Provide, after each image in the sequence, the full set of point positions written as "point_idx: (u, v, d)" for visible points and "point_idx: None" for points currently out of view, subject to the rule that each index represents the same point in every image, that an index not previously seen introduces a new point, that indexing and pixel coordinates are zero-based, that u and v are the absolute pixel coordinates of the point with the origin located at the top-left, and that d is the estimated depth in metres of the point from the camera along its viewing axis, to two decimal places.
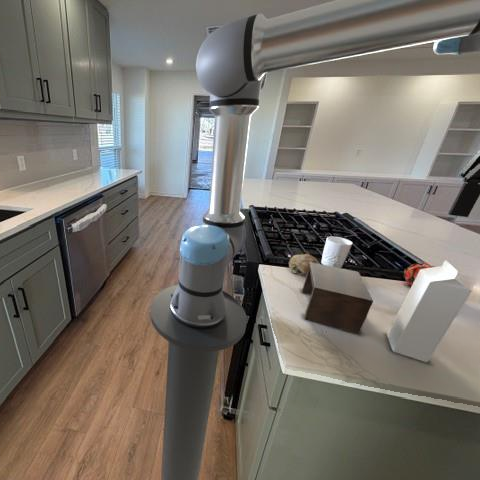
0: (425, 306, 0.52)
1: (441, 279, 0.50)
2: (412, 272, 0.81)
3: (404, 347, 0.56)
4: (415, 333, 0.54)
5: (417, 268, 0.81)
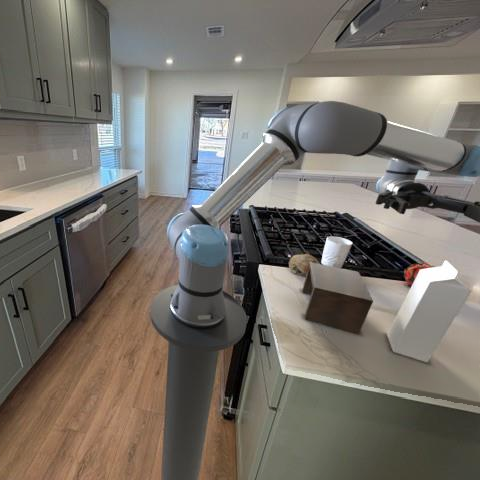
0: (425, 306, 0.52)
1: (441, 279, 0.50)
2: (412, 272, 0.81)
3: (404, 347, 0.56)
4: (415, 333, 0.54)
5: (417, 268, 0.81)
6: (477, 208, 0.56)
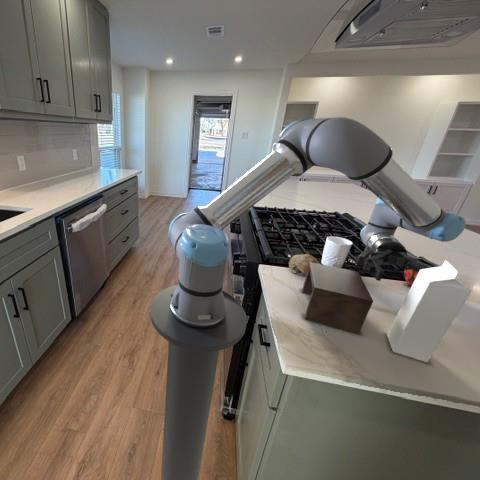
0: (425, 306, 0.52)
1: (441, 279, 0.50)
2: (412, 272, 0.81)
3: (404, 347, 0.56)
4: (415, 333, 0.54)
5: None
6: None
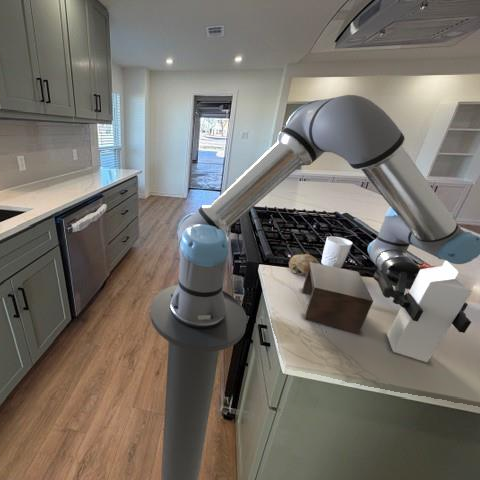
0: (425, 306, 0.52)
1: (441, 279, 0.50)
2: None
3: (404, 347, 0.56)
4: (415, 333, 0.54)
5: None
6: None
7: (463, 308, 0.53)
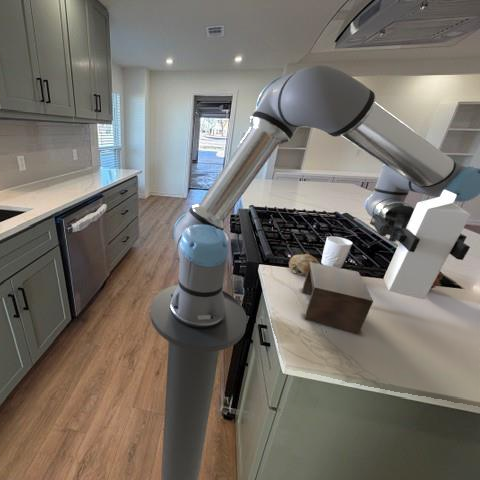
0: (422, 236, 0.50)
1: (438, 205, 0.48)
2: None
3: (401, 284, 0.54)
4: (412, 268, 0.52)
5: None
6: None
7: (462, 241, 0.51)
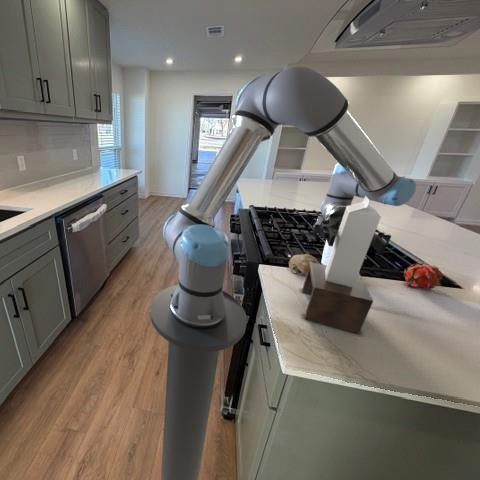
0: (347, 235, 0.60)
1: (357, 209, 0.58)
2: (412, 272, 0.81)
3: (334, 275, 0.65)
4: (342, 261, 0.63)
5: (417, 268, 0.81)
6: (378, 239, 0.59)
7: (388, 239, 0.62)
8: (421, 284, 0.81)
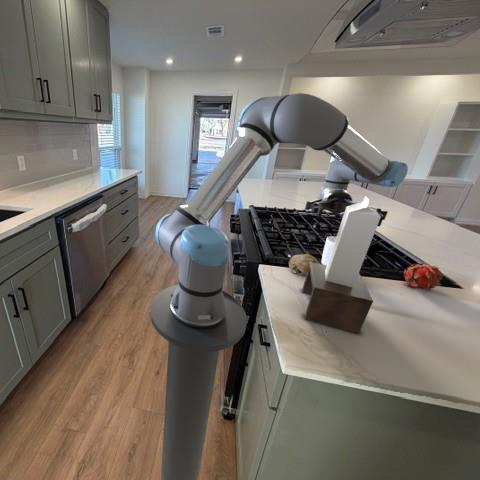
0: (347, 235, 0.60)
1: (357, 209, 0.58)
2: (412, 272, 0.81)
3: (334, 275, 0.65)
4: (342, 261, 0.63)
5: (417, 268, 0.81)
6: None
7: (385, 214, 0.71)
8: (421, 284, 0.81)
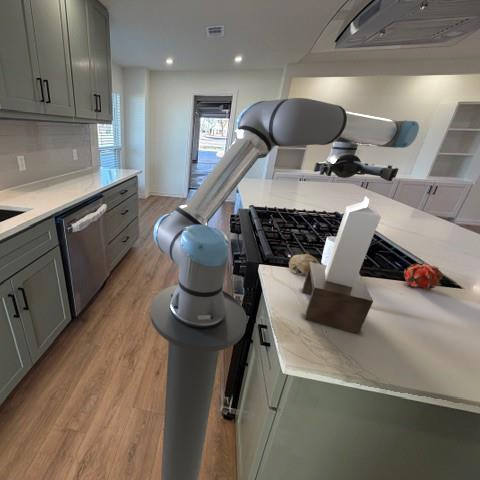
0: (347, 235, 0.60)
1: (357, 209, 0.58)
2: (412, 272, 0.81)
3: (334, 275, 0.65)
4: (342, 261, 0.63)
5: (417, 268, 0.81)
6: (387, 169, 0.67)
7: (396, 172, 0.70)
8: (421, 284, 0.81)
